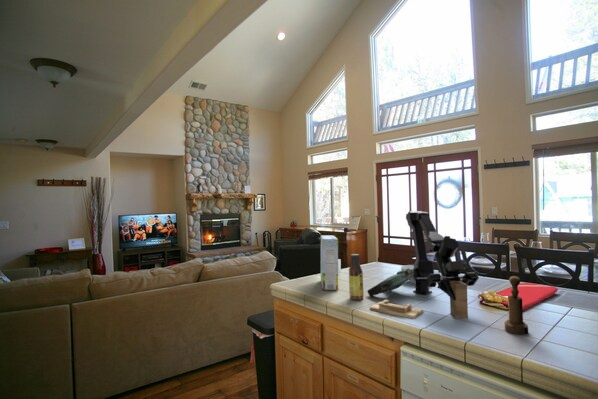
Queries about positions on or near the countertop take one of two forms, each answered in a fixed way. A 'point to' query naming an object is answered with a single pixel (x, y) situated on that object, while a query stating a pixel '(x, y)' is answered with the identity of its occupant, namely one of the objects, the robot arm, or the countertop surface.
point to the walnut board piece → (459, 300)
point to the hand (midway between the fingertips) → (460, 299)
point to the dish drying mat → (529, 293)
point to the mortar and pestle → (515, 310)
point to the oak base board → (397, 309)
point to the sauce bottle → (355, 278)
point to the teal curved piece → (391, 282)
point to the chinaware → (409, 268)
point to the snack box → (329, 262)
